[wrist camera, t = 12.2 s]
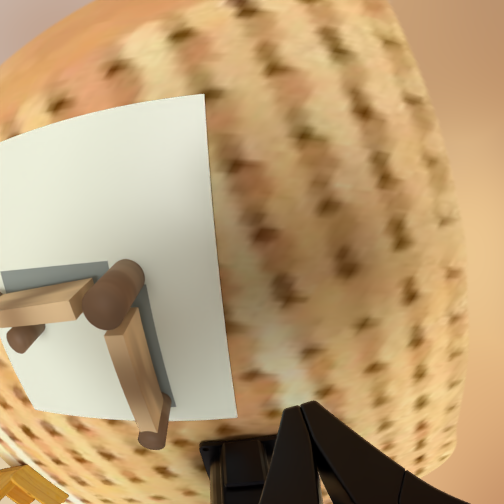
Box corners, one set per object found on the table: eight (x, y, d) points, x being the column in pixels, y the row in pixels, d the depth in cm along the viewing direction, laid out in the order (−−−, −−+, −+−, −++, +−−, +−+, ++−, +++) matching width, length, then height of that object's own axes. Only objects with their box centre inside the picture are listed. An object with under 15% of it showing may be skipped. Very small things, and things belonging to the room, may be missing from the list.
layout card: (237, 414, 19) (237, 417, 19) (36, 407, 18) (35, 409, 18) (204, 95, 14) (204, 93, 13) (-35, 158, 12) (-38, 158, 12)
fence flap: (90, 272, 15) (64, 296, 11) (99, 299, 15) (76, 327, 12) (-11, 292, 14) (-39, 312, 11) (-3, 314, 15) (-29, 336, 11)
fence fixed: (177, 404, 19) (171, 452, 14) (63, 399, 18) (43, 438, 14) (142, 255, 16) (117, 286, 11) (14, 268, 15) (-26, 294, 11)
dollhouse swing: (38, 499, 23) (24, 543, 14) (-12, 458, 20) (-35, 501, 12) (74, 497, 22) (59, 552, 14) (13, 451, 20) (-13, 506, 11)
